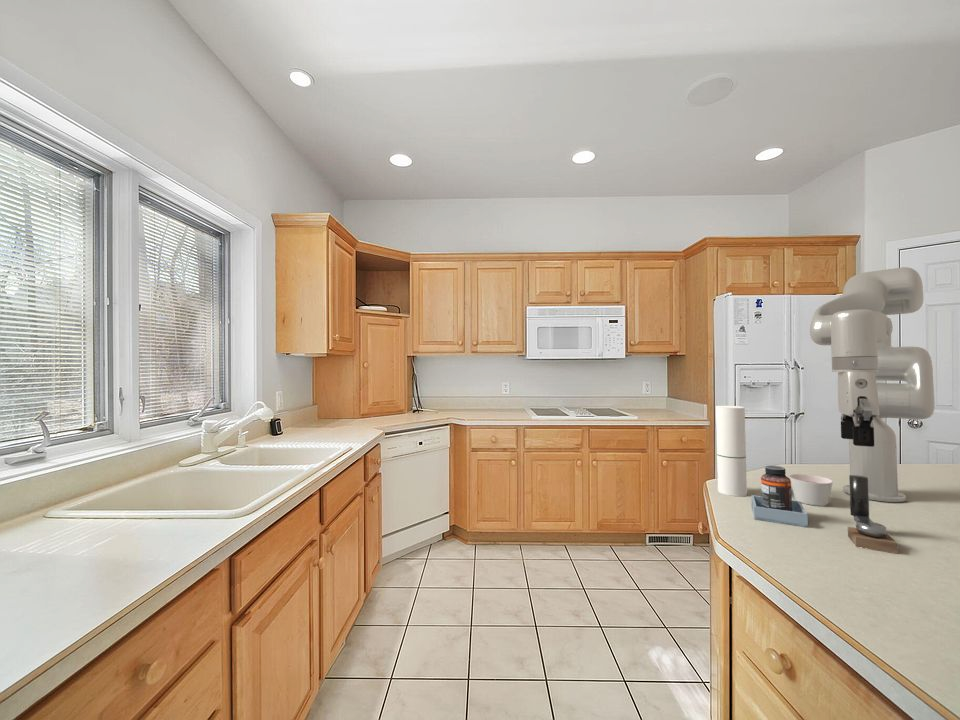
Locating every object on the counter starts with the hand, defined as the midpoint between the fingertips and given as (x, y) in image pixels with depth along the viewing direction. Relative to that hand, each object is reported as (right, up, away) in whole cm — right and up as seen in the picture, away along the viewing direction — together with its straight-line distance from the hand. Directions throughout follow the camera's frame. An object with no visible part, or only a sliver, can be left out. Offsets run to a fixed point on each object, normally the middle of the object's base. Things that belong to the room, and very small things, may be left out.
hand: (856, 442), depth 88 cm
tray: (-11, -20, +9) cm, 24 cm away
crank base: (-3, -20, -7) cm, 21 cm away
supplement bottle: (-11, -20, +9) cm, 24 cm away
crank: (-2, -17, -4) cm, 18 cm away
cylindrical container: (-10, -21, +28) cm, 36 cm away
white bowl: (+6, -20, +19) cm, 28 cm away
